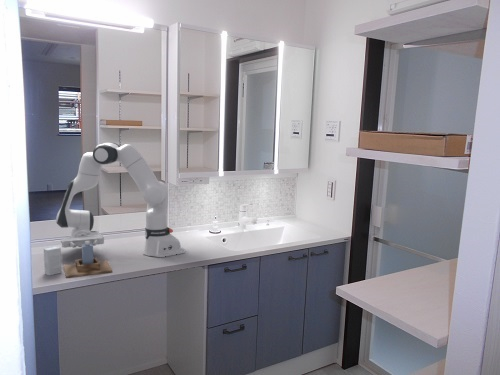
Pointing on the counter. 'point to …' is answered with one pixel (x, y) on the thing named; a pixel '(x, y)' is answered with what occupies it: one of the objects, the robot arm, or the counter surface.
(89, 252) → the soap bottle
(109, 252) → the counter surface
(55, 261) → the skincare box
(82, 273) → the bottle caddy
